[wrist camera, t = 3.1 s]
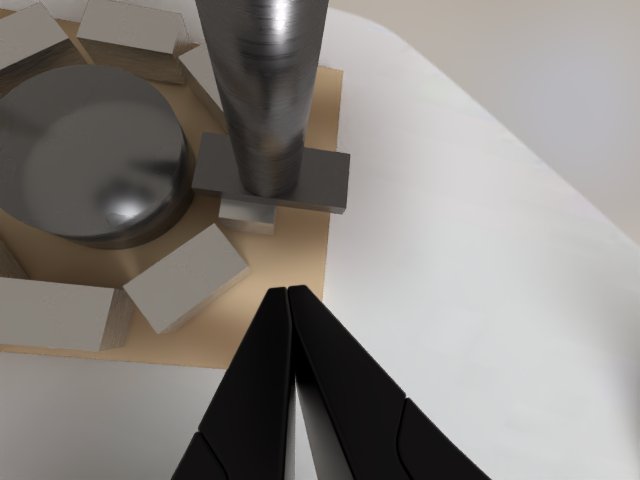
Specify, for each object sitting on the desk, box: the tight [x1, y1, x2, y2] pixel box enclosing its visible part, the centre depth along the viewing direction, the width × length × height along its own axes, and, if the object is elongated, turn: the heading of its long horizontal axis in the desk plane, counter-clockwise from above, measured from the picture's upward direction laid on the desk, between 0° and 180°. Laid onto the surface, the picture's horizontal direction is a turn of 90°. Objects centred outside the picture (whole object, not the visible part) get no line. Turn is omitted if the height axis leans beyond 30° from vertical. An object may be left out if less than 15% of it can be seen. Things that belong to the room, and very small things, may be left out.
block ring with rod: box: [0, 0, 350, 352], centre depth 10 cm, size 15×18×11 cm
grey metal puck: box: [0, 64, 197, 250], centre depth 14 cm, size 7×7×3 cm
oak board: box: [0, 9, 343, 369], centre depth 16 cm, size 16×19×1 cm
